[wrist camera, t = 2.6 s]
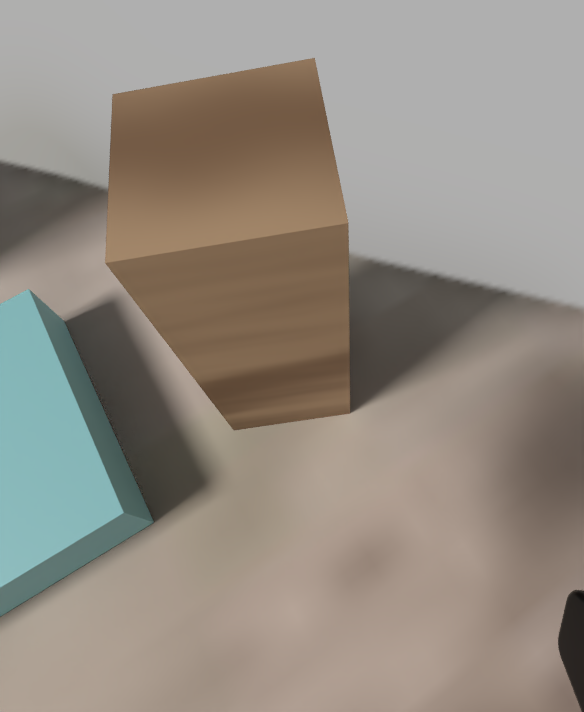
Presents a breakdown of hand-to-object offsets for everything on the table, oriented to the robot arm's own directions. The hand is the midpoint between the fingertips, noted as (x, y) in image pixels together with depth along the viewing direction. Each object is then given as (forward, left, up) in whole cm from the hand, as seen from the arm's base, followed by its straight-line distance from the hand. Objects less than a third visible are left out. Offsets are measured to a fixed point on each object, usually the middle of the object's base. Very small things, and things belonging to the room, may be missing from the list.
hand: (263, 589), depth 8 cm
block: (+7, +6, -13) cm, 15 cm away
